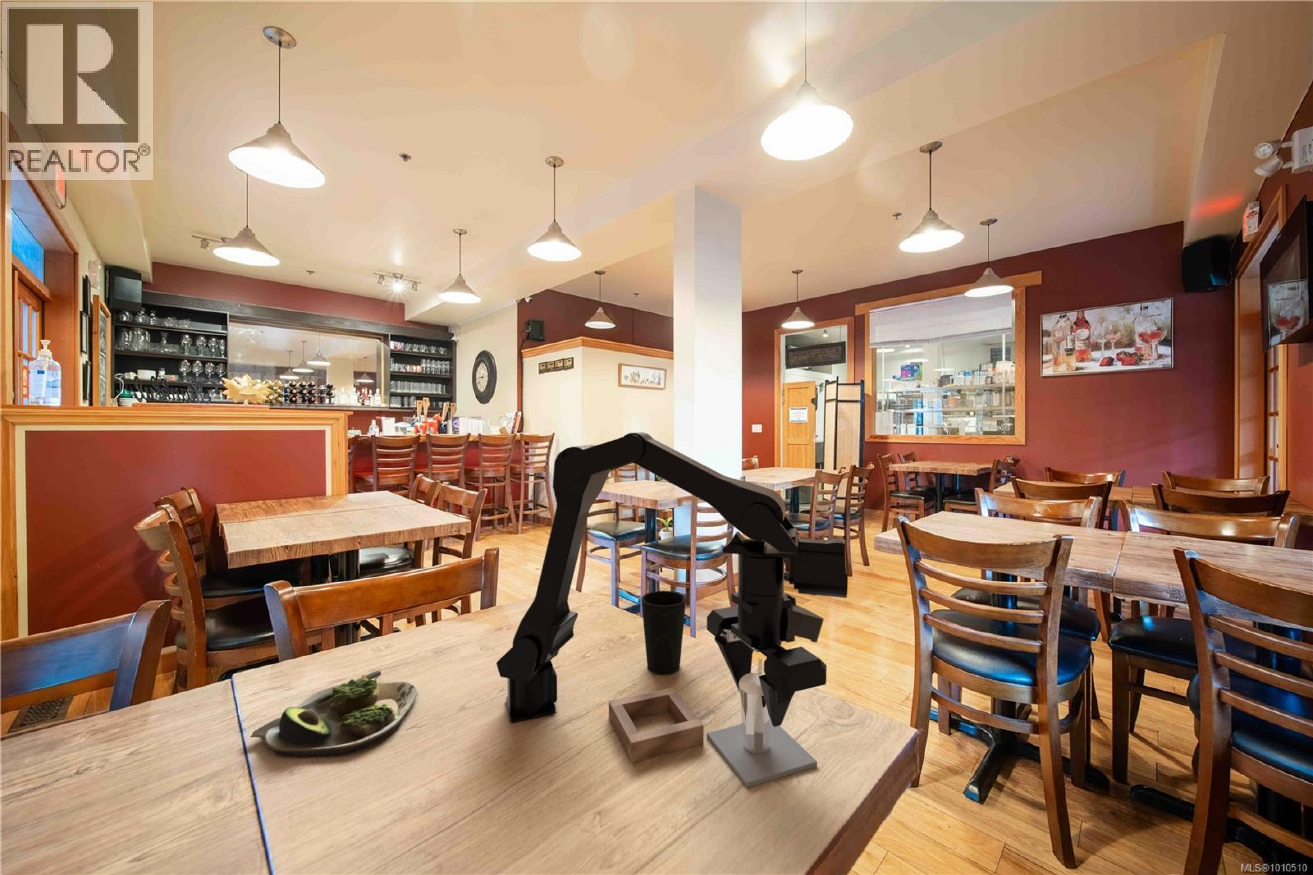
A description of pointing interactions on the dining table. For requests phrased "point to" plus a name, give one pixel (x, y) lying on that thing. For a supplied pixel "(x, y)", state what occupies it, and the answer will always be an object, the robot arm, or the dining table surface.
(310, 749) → the salad plate
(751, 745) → the milkshake
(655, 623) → the cup
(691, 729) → the collar
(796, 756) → the mat
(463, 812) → the dining table surface
